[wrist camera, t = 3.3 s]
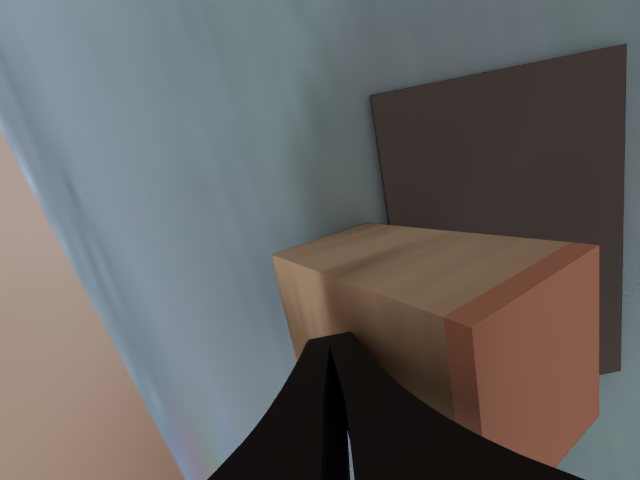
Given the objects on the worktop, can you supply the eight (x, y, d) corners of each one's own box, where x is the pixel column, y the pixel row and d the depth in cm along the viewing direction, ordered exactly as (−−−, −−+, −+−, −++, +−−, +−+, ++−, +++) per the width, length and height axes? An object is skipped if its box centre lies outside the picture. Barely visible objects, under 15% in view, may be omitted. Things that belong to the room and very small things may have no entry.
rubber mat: (615, 367, 18) (620, 370, 18) (415, 405, 18) (417, 409, 18) (620, 46, 14) (626, 43, 14) (369, 96, 15) (371, 95, 14)
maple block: (382, 318, 17) (598, 415, 9) (296, 362, 15) (492, 541, 7) (366, 223, 16) (599, 244, 8) (271, 254, 13) (471, 327, 6)
